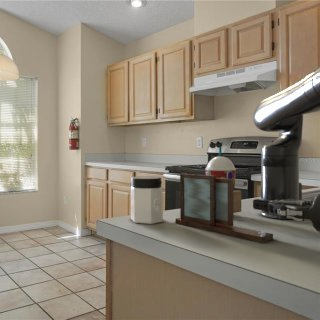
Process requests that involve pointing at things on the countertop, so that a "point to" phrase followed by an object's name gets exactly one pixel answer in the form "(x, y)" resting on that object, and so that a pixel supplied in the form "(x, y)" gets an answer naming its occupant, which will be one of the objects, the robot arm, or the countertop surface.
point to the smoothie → (221, 168)
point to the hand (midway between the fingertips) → (254, 203)
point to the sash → (226, 201)
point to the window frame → (208, 208)
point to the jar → (146, 199)
